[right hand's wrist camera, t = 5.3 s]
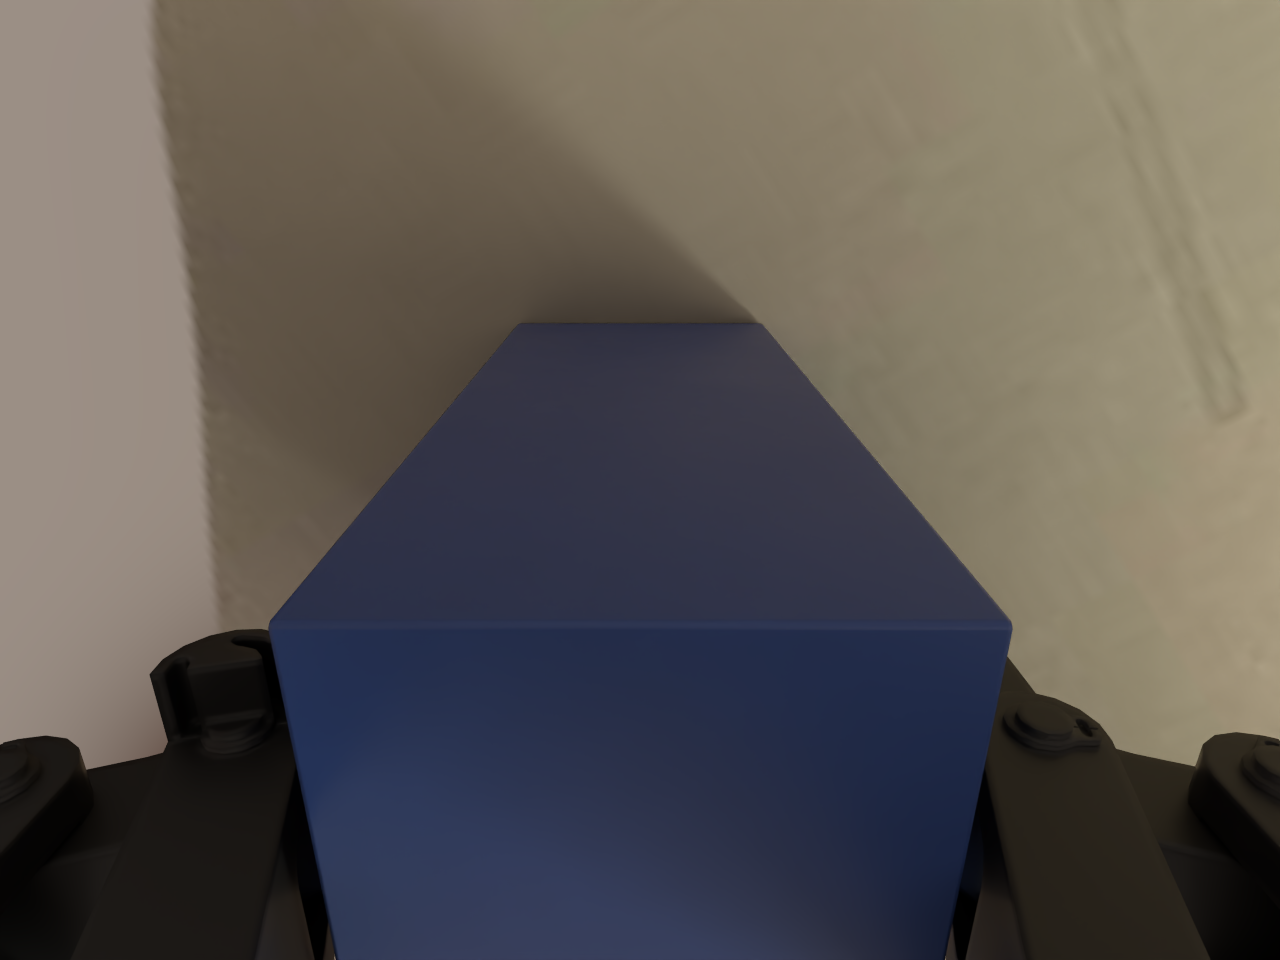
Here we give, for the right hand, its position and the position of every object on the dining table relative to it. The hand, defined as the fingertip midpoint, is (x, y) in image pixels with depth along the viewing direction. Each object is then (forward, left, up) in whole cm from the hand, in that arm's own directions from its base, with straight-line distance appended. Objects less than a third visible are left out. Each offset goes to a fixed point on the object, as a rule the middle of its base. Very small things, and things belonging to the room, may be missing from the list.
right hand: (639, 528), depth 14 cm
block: (0, 0, -3) cm, 3 cm away
